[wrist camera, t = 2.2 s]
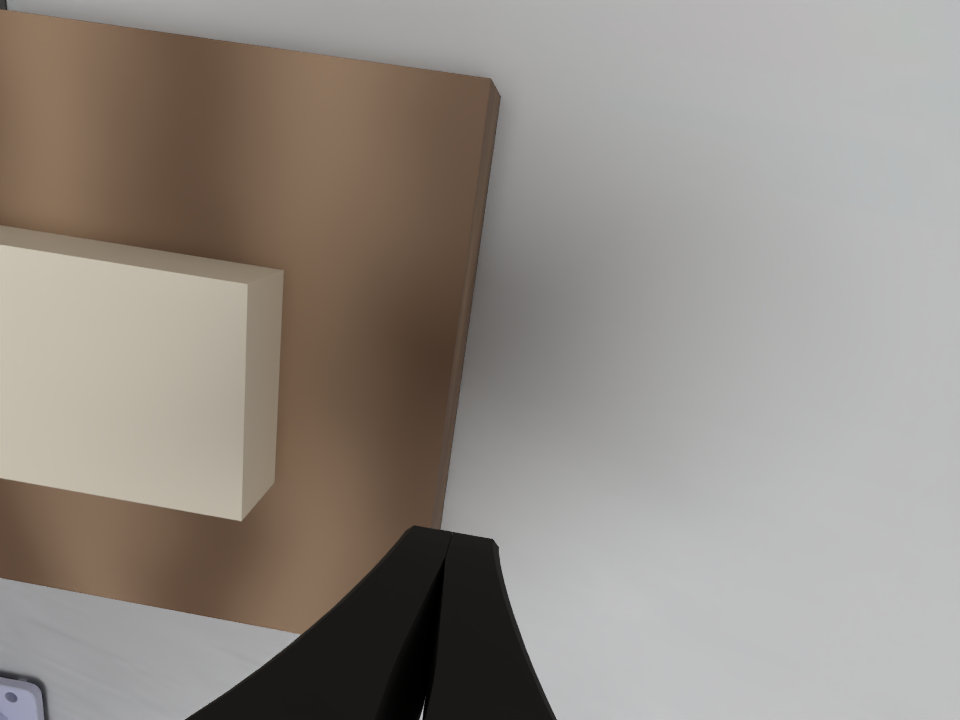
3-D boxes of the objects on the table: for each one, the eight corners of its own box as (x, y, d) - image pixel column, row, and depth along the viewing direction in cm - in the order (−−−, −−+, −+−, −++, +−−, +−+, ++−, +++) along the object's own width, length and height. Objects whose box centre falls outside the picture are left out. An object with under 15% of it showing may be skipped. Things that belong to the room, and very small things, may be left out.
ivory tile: (2, 434, 18) (-64, 466, 16) (-21, 221, 16) (-97, 228, 14) (274, 482, 17) (241, 521, 15) (283, 270, 15) (247, 284, 14)
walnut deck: (55, 513, 23) (-29, 572, 19) (17, 27, 18) (-105, -6, 14) (433, 581, 22) (413, 655, 19) (500, 96, 17) (490, 78, 14)
